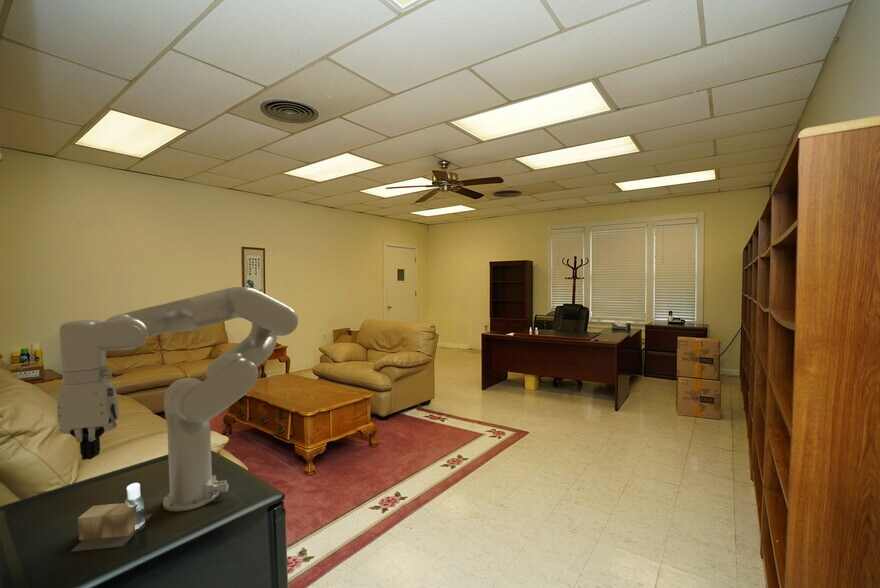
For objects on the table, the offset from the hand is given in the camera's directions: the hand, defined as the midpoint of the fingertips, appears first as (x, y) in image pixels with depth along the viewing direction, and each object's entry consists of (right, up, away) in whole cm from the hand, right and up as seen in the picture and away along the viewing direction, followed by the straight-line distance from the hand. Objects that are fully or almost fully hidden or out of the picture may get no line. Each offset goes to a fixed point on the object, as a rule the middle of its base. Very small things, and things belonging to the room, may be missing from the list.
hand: (90, 456), depth 93 cm
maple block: (-1, -15, 0) cm, 15 cm away
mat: (+5, -18, +1) cm, 18 cm away
